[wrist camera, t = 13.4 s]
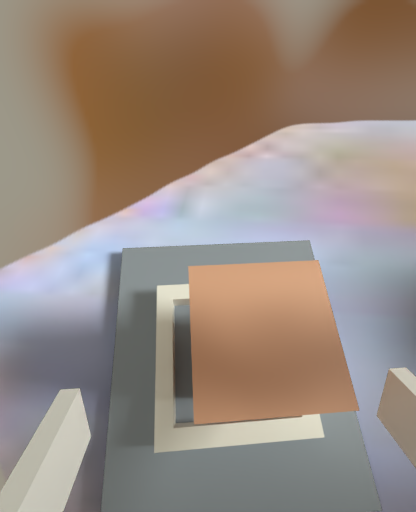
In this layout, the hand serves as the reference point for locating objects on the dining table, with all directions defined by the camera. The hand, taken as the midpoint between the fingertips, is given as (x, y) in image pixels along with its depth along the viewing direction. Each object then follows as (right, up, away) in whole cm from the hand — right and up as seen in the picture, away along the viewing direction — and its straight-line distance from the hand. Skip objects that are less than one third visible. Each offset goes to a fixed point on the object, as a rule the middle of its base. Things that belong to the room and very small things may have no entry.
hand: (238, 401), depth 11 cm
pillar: (0, -2, +9) cm, 9 cm away
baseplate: (0, -2, +10) cm, 11 cm away
